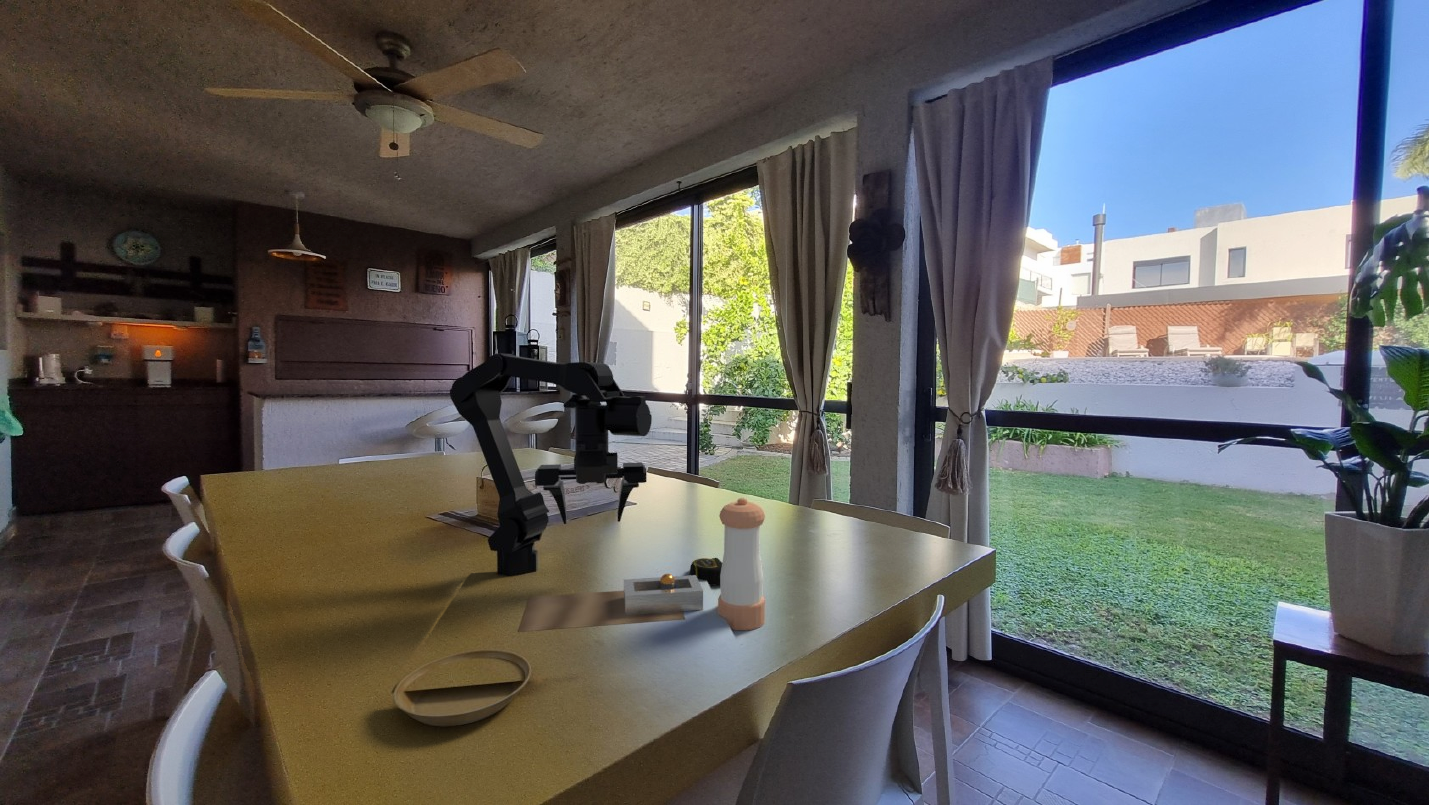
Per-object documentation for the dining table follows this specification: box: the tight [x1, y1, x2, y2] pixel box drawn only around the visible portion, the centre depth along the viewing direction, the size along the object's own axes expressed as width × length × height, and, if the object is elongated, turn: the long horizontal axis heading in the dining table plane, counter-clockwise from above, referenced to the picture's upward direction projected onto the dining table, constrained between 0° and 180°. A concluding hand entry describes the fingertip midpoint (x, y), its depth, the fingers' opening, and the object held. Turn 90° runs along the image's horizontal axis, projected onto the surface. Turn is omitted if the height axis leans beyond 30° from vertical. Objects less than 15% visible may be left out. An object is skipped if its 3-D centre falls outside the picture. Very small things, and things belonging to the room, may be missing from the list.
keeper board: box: [517, 590, 686, 633], centre depth 90 cm, size 24×13×2 cm, turn 101°
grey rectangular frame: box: [623, 574, 704, 615], centre depth 91 cm, size 12×7×3 cm, turn 101°
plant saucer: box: [393, 649, 532, 727], centre depth 67 cm, size 15×15×3 cm
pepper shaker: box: [717, 497, 766, 631], centre depth 89 cm, size 7×7×19 cm
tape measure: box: [689, 557, 723, 586], centre depth 105 cm, size 7×7×4 cm
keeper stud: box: [660, 573, 675, 590], centre depth 92 cm, size 2×2×5 cm
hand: (592, 522), depth 101 cm, fingers open, 9 cm apart
